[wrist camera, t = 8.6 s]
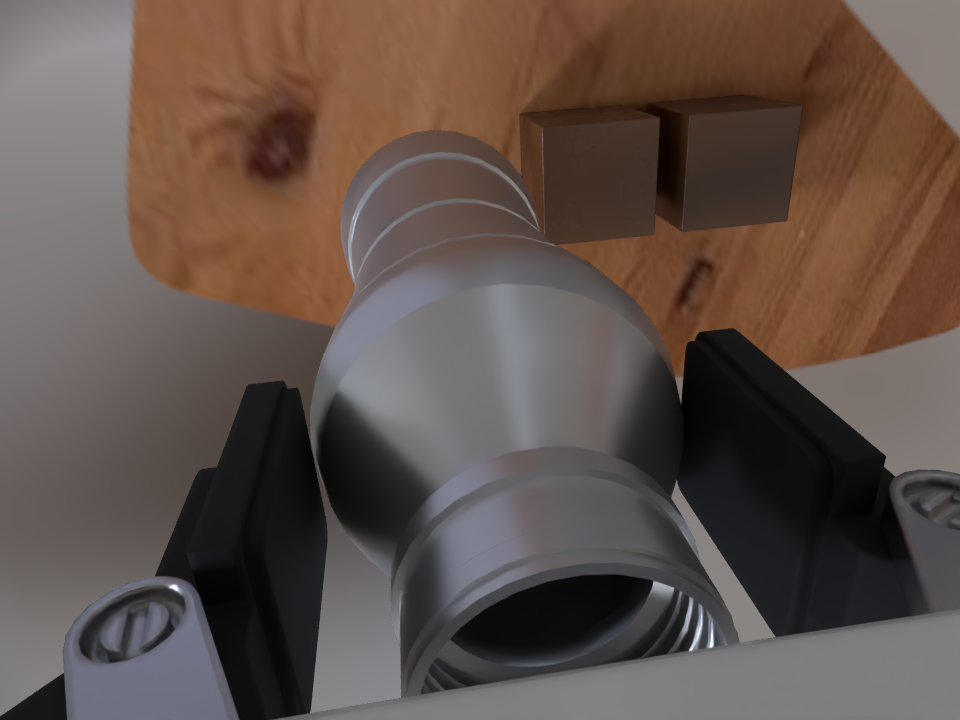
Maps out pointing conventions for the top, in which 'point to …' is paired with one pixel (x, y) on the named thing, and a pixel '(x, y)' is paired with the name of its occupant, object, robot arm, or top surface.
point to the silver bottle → (502, 433)
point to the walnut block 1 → (591, 172)
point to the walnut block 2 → (725, 161)
